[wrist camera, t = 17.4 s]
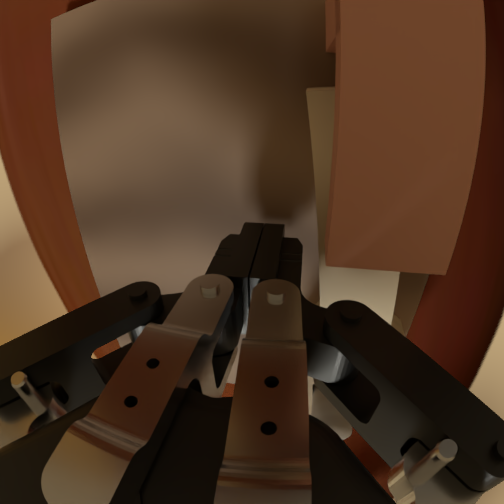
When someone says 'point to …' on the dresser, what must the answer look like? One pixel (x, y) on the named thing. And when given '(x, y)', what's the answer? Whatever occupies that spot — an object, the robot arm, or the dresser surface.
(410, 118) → the keeper
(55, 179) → the dresser surface
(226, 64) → the hinge base
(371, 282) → the birch link
